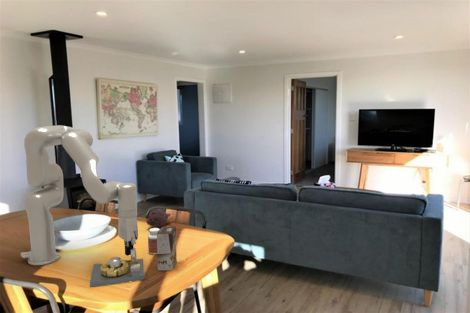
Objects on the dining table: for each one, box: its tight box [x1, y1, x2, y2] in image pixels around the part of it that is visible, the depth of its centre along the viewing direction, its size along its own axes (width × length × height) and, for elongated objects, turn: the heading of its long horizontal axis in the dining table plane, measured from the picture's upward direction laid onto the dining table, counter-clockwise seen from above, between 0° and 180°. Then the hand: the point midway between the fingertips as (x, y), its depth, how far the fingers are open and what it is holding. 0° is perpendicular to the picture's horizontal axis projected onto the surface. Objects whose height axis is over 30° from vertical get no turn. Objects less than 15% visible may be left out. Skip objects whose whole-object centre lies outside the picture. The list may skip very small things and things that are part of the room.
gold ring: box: [100, 248, 139, 277], centre depth 146 cm, size 15×11×6 cm
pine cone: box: [146, 208, 171, 227], centre depth 203 cm, size 18×10×10 cm, turn 150°
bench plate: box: [89, 256, 146, 288], centre depth 146 cm, size 20×16×7 cm
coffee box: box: [156, 226, 178, 271], centre depth 153 cm, size 9×6×16 cm
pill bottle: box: [147, 227, 161, 255], centre depth 168 cm, size 6×6×11 cm
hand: (129, 254), depth 154 cm, fingers closed
